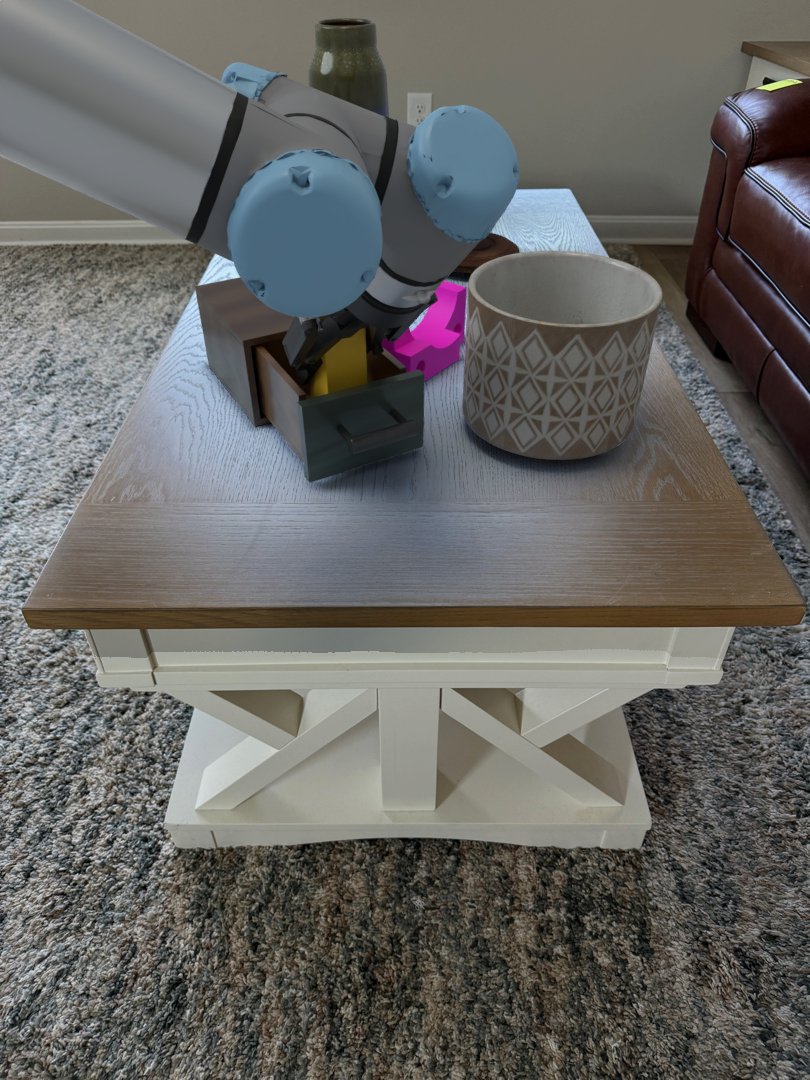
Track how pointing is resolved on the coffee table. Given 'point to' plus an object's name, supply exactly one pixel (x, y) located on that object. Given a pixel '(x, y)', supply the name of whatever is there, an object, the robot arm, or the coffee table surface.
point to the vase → (349, 63)
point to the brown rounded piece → (487, 252)
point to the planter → (557, 352)
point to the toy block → (434, 334)
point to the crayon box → (341, 366)
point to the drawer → (342, 412)
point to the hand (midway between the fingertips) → (322, 367)
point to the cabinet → (238, 338)
